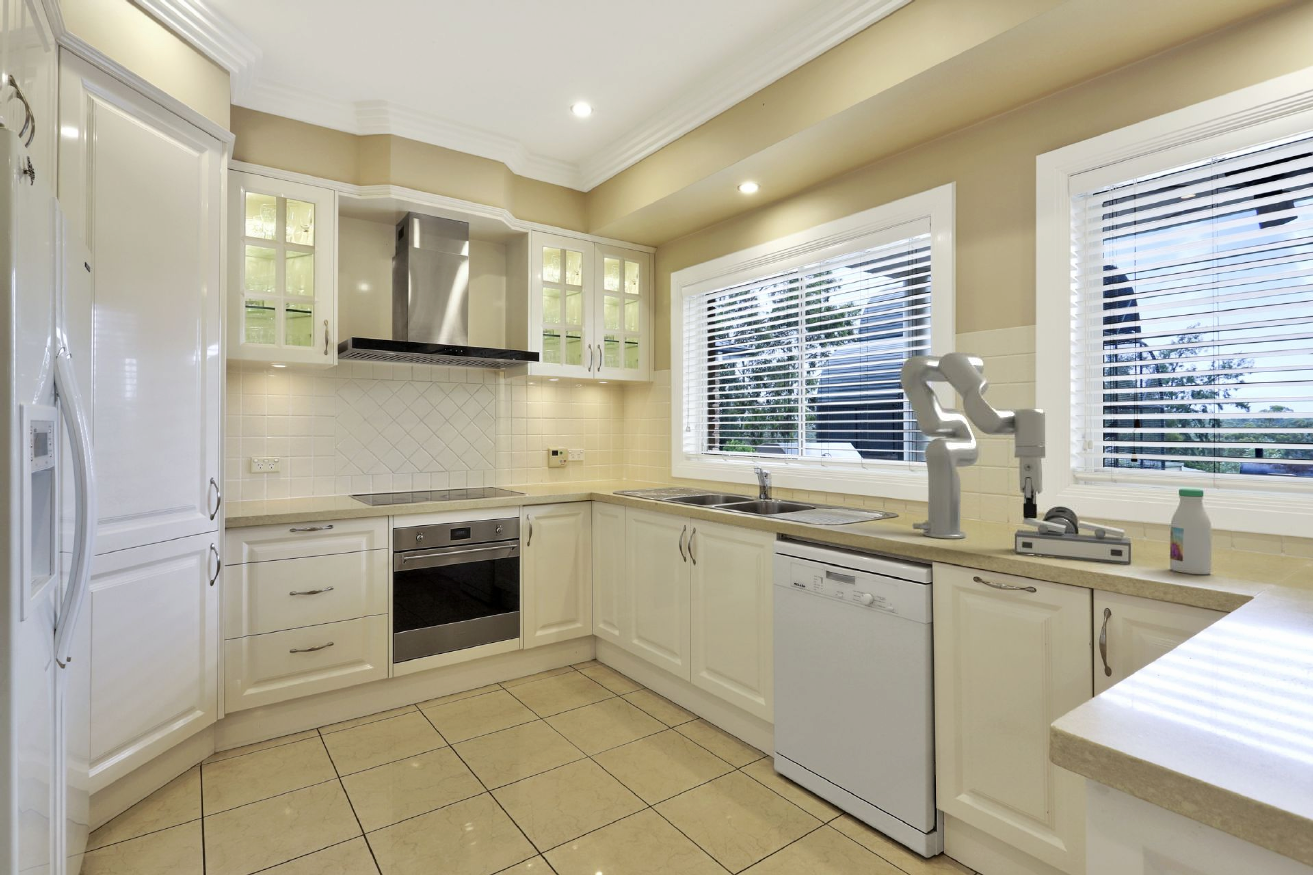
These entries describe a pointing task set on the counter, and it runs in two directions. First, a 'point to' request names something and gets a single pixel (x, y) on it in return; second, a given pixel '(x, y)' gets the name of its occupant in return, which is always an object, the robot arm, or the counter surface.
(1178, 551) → the milk bottle
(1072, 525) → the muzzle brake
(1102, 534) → the switch
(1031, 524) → the switch
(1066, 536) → the switch box
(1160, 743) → the counter surface
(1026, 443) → the robot arm
